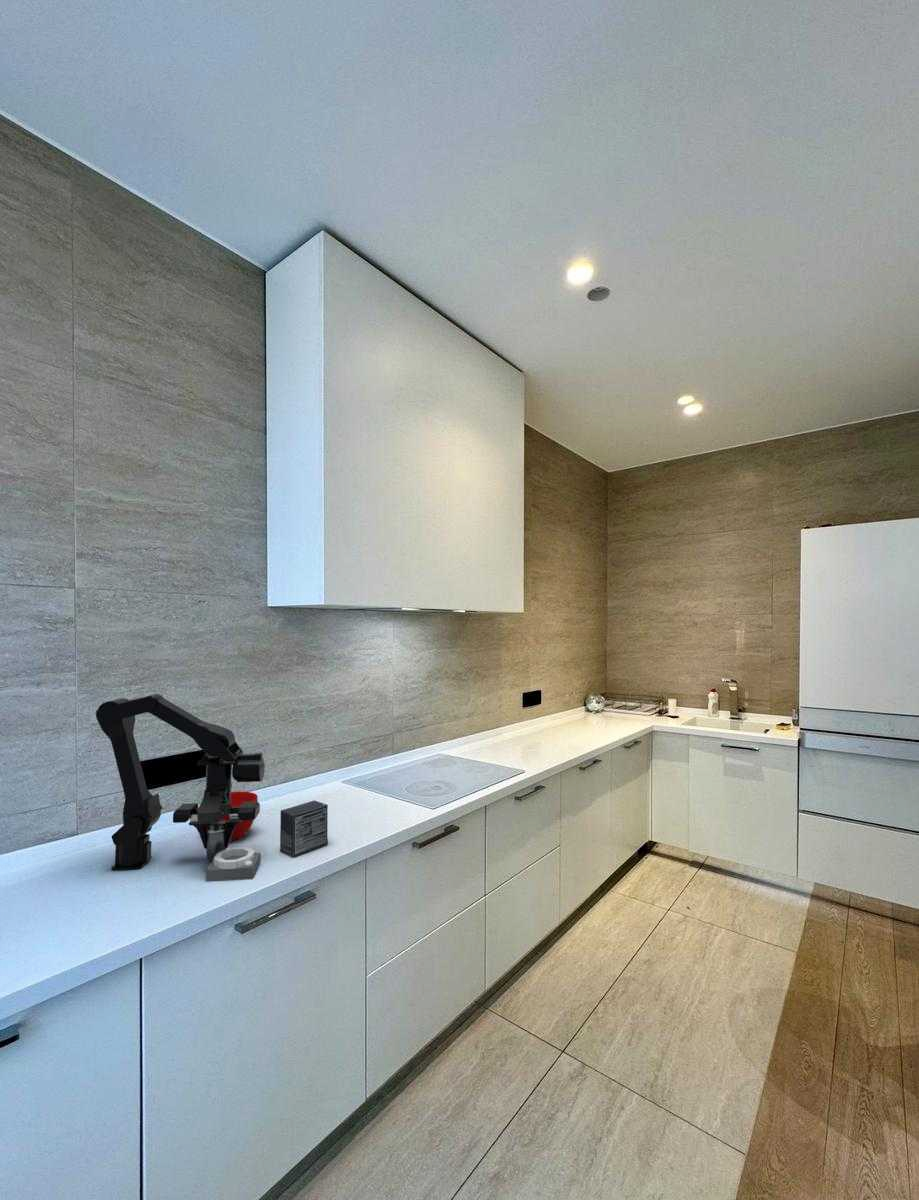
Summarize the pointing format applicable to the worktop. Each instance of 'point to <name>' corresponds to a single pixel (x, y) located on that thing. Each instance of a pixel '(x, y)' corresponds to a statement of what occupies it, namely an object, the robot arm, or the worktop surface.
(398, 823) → the worktop surface
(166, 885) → the worktop surface
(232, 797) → the ceramic cup
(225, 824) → the lens
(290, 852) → the small box
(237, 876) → the camera body mount
